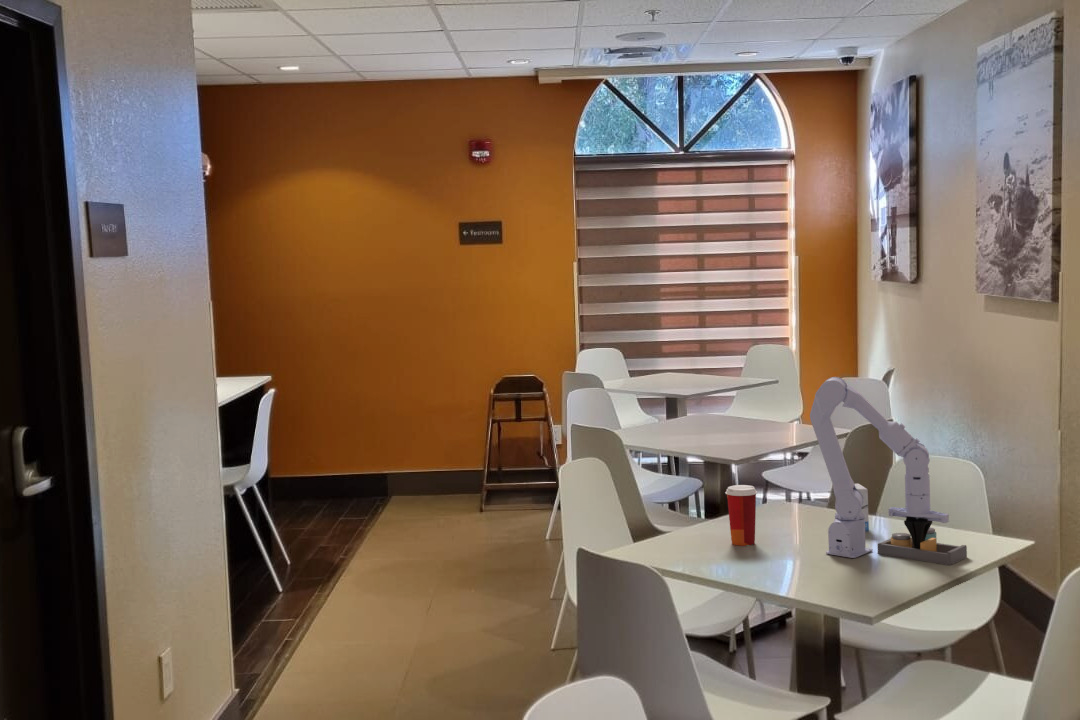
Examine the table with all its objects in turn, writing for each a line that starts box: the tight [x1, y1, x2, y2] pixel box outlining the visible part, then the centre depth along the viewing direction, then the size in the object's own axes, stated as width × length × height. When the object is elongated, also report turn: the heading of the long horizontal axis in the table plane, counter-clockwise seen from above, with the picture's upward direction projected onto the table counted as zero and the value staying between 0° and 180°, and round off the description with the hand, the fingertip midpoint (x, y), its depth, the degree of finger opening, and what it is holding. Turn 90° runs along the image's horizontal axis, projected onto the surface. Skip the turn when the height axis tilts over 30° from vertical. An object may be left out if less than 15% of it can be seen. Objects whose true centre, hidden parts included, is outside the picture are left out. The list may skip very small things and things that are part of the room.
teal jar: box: [925, 527, 938, 543], centre depth 257 cm, size 5×5×4 cm
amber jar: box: [890, 532, 912, 548], centre depth 252 cm, size 5×5×4 cm
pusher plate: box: [920, 537, 938, 552], centre depth 247 cm, size 6×1×4 cm, turn 133°
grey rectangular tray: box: [877, 538, 968, 566], centre depth 248 cm, size 9×18×3 cm, turn 43°
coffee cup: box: [724, 484, 758, 547], centre depth 268 cm, size 8×8×15 cm
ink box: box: [854, 483, 870, 532], centre depth 279 cm, size 8×5×12 cm, turn 179°
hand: (919, 548), depth 249 cm, fingers closed
